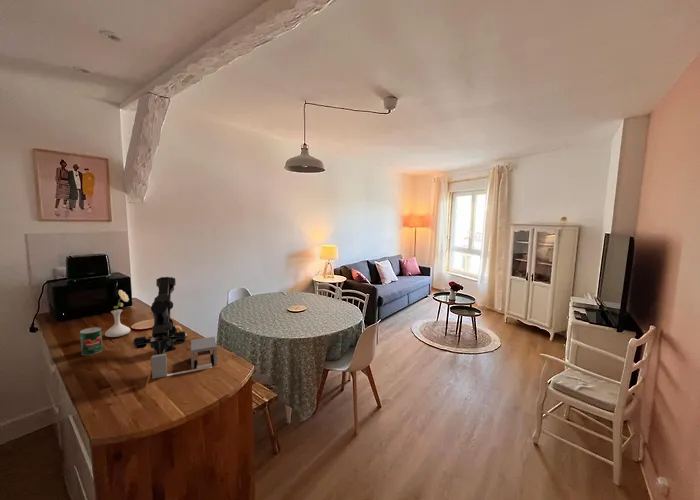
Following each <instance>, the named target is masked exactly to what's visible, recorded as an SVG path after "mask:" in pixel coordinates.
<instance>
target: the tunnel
mask: <svg viewBox="0 0 700 500" xmlns="http://www.w3.org/2000/svg"><path fill="white" fill-rule="evenodd" d="M207 350H210V351H212V355H213V357H212V358H213V366H217V364H218V363H217V361H218V357H217V355H218V354H217V353H218V352H217V342H216V336H211V337H204V338H203V337H202V338H195V339H190V358H191V359H190V361H191V363H190V365H191V366H190V367H191V370H193V369H195V353H198V352H201V351H207Z"/></svg>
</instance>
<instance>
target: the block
mask: <svg viewBox="0 0 700 500" xmlns="http://www.w3.org/2000/svg"><path fill="white" fill-rule="evenodd" d="M210 357H211V350H207V351H201V352H197V359H198V365H202V364H208V363H210Z"/></svg>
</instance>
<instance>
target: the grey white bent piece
mask: <svg viewBox="0 0 700 500" xmlns="http://www.w3.org/2000/svg"><path fill="white" fill-rule="evenodd" d="M167 362H168V361H167V353H164V354H160V355H157V354H154V355H151V374H152V375H151V377H152V378H151V379H153V380H155V379H160V378H164V377H165V378H166V377H169V376H174V375H181V374H186V373H191V372H195V371H202V370H207V369H212V368H213V364H212V363H213V362H212V357H211V356H210V363H208V364H202V365H198V358H197V359H196V368H194V369H188V370H183V371H177V372H173V373H168V363H167Z"/></svg>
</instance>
